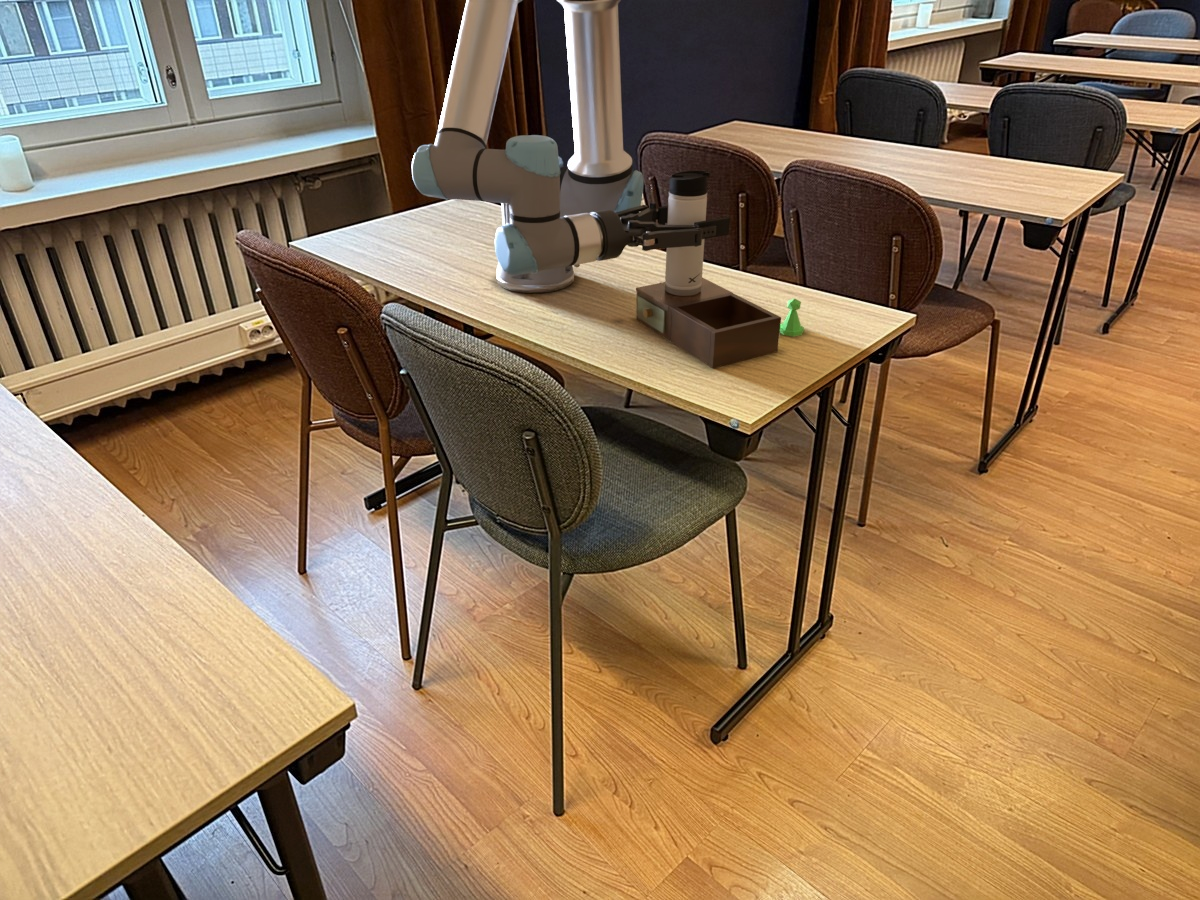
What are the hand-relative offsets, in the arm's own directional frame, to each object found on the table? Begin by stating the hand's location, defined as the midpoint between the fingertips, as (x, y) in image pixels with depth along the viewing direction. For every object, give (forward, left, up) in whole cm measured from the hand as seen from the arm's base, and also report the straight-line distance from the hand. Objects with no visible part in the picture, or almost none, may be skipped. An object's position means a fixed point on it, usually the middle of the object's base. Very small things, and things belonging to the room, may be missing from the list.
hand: (708, 218), depth 142 cm
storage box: (+7, -4, -18) cm, 20 cm away
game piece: (+12, +10, -18) cm, 24 cm away
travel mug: (0, -4, -12) cm, 13 cm away
